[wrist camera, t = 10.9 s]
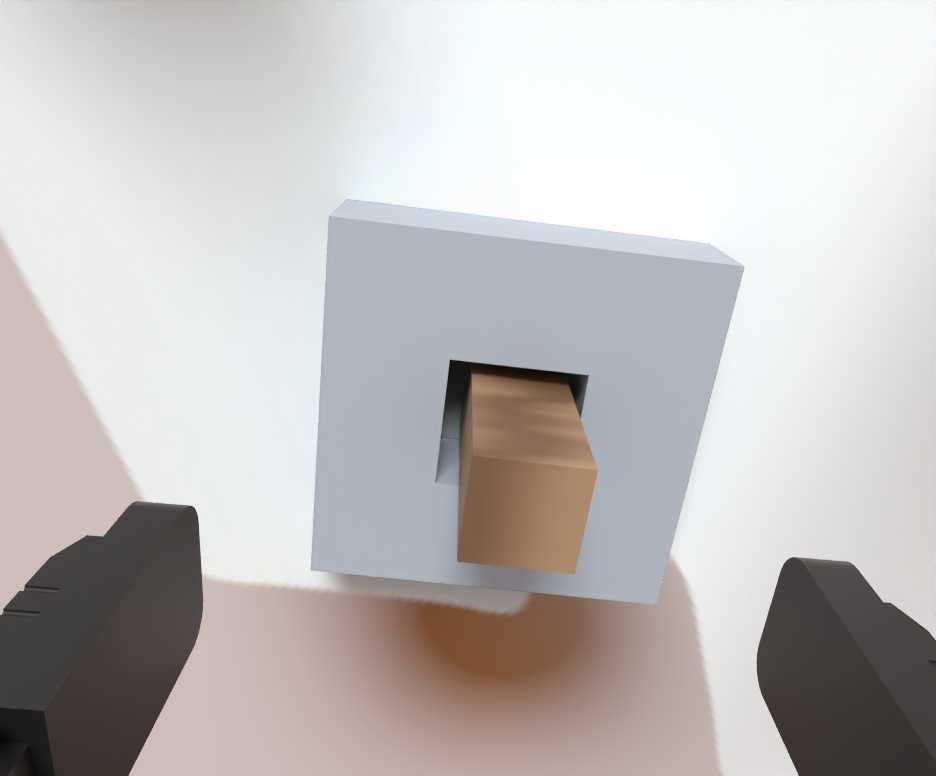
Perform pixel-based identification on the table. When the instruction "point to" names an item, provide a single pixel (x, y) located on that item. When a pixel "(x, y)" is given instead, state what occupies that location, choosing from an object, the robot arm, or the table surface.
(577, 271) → the socket block
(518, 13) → the table surface
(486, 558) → the walnut peg
